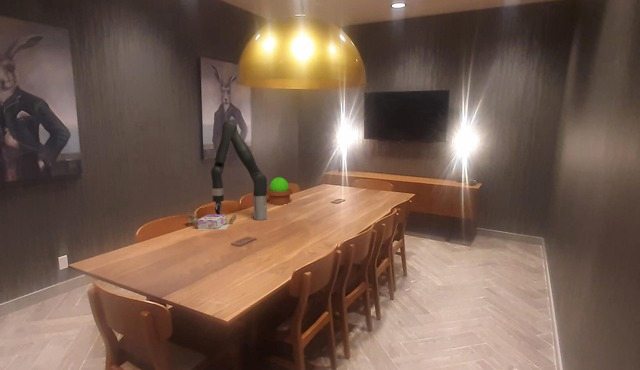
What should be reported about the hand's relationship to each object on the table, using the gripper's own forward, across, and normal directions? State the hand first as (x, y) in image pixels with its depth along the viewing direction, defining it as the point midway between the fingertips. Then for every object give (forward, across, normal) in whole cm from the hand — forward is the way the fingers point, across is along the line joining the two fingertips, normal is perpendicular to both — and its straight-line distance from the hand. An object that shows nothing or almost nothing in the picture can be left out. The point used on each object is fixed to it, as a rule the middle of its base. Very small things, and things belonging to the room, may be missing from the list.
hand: (218, 218), depth 253 cm
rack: (+2, 0, 0) cm, 2 cm away
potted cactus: (+2, +57, -40) cm, 70 cm away
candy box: (-1, -5, 0) cm, 5 cm away
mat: (+2, -17, 0) cm, 18 cm away
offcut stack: (+2, -9, +15) cm, 18 cm away
